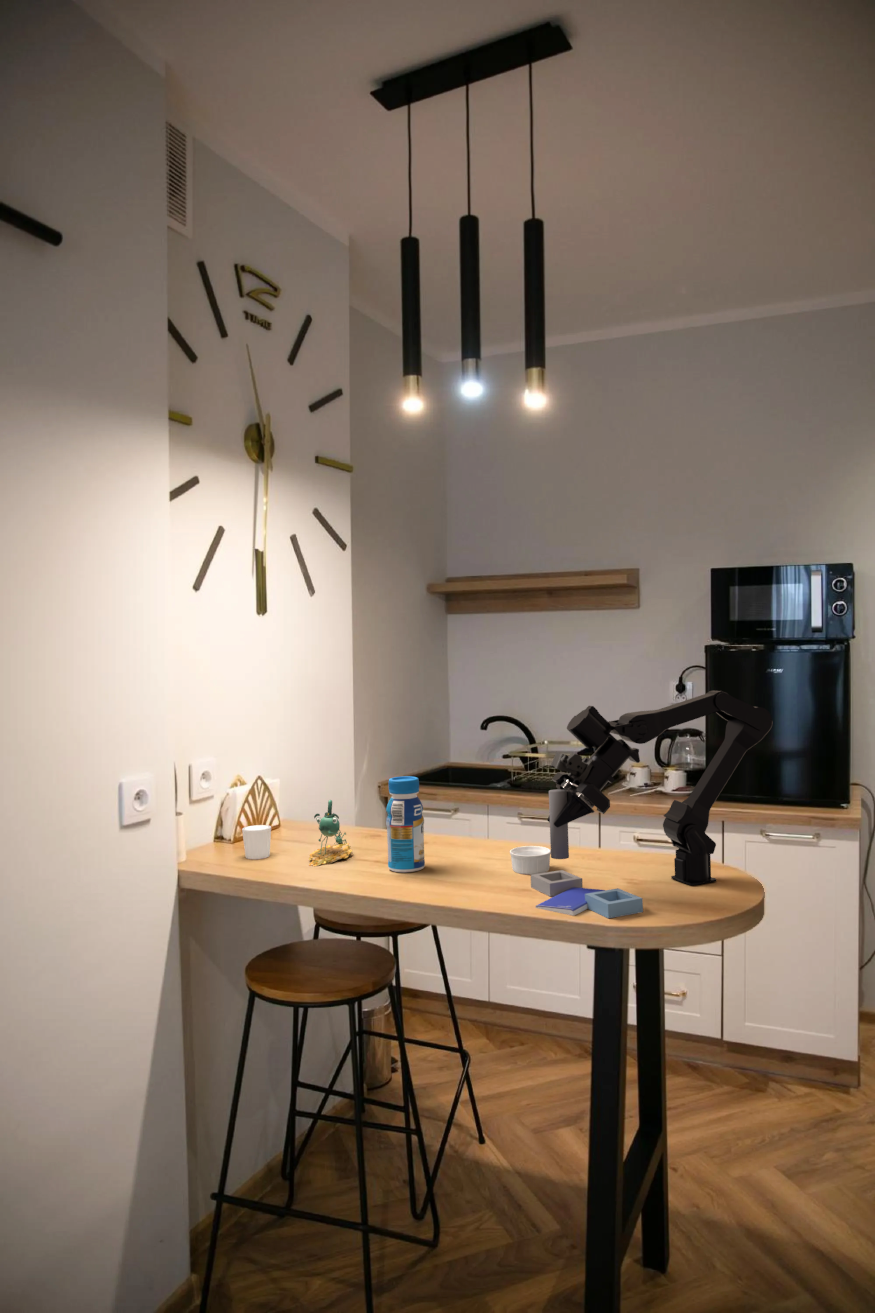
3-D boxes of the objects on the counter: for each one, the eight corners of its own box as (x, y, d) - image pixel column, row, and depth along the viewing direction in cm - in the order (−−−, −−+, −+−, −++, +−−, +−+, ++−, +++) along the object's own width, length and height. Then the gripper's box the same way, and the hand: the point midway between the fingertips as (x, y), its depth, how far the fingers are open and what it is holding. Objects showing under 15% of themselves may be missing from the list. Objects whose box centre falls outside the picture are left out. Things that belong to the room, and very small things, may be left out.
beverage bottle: (381, 867, 193) (378, 778, 193) (415, 861, 197) (412, 774, 197) (397, 875, 186) (394, 782, 186) (432, 869, 190) (429, 778, 189)
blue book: (572, 908, 155) (607, 889, 164) (535, 904, 160) (570, 886, 169) (573, 917, 155) (608, 898, 164) (536, 913, 160) (571, 894, 169)
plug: (561, 854, 172) (559, 788, 172) (572, 857, 169) (570, 791, 169) (547, 856, 170) (545, 790, 170) (557, 860, 167) (555, 793, 167)
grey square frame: (562, 882, 176) (562, 870, 176) (582, 891, 170) (582, 878, 170) (531, 887, 173) (530, 875, 173) (550, 896, 167) (549, 883, 167)
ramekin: (549, 876, 182) (549, 855, 182) (508, 875, 183) (507, 855, 183) (552, 865, 190) (552, 846, 190) (512, 864, 192) (512, 845, 192)
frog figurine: (369, 850, 210) (365, 791, 209) (330, 877, 194) (325, 813, 193) (336, 847, 214) (331, 789, 213) (294, 873, 198) (289, 810, 197)
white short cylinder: (266, 860, 203) (265, 830, 203) (238, 860, 204) (237, 830, 204) (276, 853, 210) (275, 824, 210) (249, 853, 211) (248, 824, 211)
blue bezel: (618, 901, 162) (618, 888, 162) (642, 912, 155) (642, 898, 155) (585, 907, 159) (584, 894, 159) (608, 918, 152) (608, 904, 152)
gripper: (560, 732, 179) (510, 789, 177) (592, 742, 161) (536, 805, 159) (597, 768, 181) (548, 825, 179) (633, 781, 162) (579, 844, 160)
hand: (552, 824), depth 169 cm, fingers closed on plug, 3 cm apart
